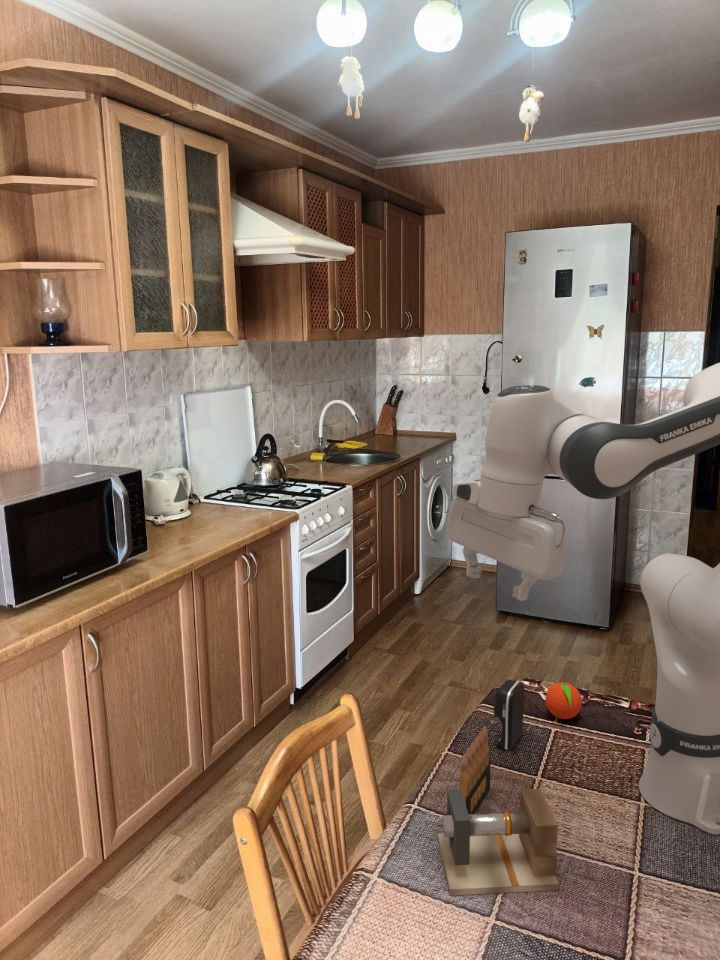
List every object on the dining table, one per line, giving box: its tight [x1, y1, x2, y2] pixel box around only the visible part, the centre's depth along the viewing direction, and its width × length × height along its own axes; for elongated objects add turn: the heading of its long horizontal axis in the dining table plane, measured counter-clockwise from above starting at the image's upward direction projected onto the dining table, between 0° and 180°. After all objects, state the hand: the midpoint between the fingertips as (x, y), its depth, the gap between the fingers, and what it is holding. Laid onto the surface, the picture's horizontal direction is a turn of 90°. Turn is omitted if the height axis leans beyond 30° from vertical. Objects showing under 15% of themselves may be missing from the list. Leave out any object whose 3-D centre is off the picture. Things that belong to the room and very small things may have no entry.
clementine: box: [545, 681, 583, 720], centre depth 141 cm, size 8×7×7 cm
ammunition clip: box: [458, 725, 491, 814], centre depth 115 cm, size 11×2×12 cm, turn 150°
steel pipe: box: [442, 811, 530, 837], centre depth 102 cm, size 14×3×3 cm, turn 93°
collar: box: [446, 787, 470, 865], centre depth 102 cm, size 2×7×7 cm, turn 3°
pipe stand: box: [437, 788, 560, 897], centre depth 103 cm, size 15×11×9 cm
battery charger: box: [493, 679, 525, 751], centre depth 133 cm, size 7×4×11 cm, turn 148°
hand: (495, 587), depth 107 cm, fingers open, 8 cm apart
